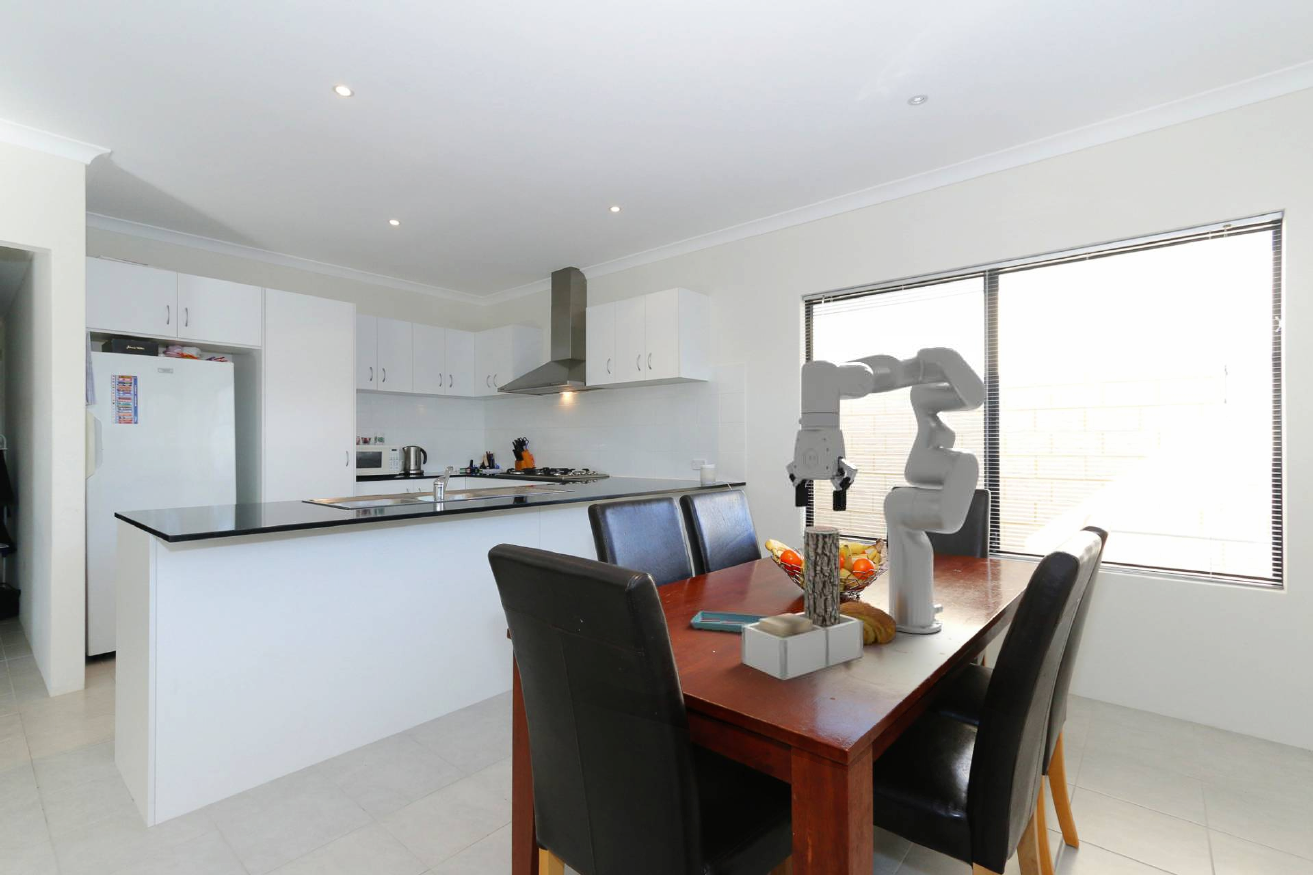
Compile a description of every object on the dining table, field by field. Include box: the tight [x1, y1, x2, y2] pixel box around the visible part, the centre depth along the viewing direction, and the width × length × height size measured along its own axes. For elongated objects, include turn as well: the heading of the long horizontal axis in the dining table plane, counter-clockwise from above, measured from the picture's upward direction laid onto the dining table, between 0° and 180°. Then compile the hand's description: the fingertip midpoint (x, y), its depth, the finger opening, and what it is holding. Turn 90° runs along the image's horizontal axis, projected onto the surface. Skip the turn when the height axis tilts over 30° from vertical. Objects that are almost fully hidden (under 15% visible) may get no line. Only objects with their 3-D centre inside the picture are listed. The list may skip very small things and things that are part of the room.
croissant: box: [840, 601, 897, 645], centre depth 137 cm, size 14×16×8 cm
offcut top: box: [759, 612, 812, 638], centre depth 119 cm, size 8×6×3 cm
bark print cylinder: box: [803, 525, 841, 628], centre depth 125 cm, size 7×7×25 cm
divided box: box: [741, 611, 864, 681], centre depth 122 cm, size 22×11×7 cm, turn 124°
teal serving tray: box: [690, 610, 773, 633], centre depth 143 cm, size 26×9×2 cm, turn 71°
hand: (820, 508), depth 125 cm, fingers open, 9 cm apart
